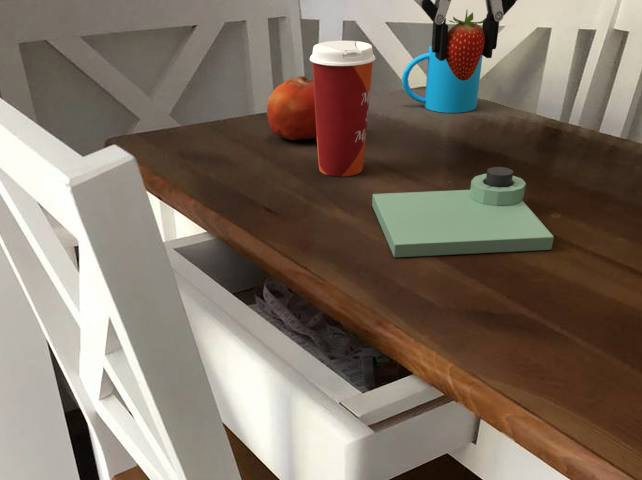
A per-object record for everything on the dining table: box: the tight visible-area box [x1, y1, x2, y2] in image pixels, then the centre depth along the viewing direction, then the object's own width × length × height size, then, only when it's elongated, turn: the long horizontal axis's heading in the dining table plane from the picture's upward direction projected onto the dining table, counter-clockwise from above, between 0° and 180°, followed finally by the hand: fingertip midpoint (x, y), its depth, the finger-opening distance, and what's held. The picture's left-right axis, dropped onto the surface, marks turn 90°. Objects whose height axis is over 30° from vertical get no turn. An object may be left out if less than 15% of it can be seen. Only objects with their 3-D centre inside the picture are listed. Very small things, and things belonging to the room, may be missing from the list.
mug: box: [401, 45, 484, 114], centre depth 114 cm, size 12×8×8 cm
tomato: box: [266, 75, 317, 141], centre depth 102 cm, size 9×9×8 cm
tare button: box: [485, 166, 514, 188], centre depth 80 cm, size 3×3×2 cm
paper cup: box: [309, 40, 377, 178], centre depth 89 cm, size 8×8×14 cm
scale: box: [371, 173, 555, 258], centre depth 78 cm, size 16×14×3 cm
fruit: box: [446, 10, 487, 81], centre depth 93 cm, size 5×5×8 cm
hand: (463, 55), depth 93 cm, fingers closed on fruit, 5 cm apart
